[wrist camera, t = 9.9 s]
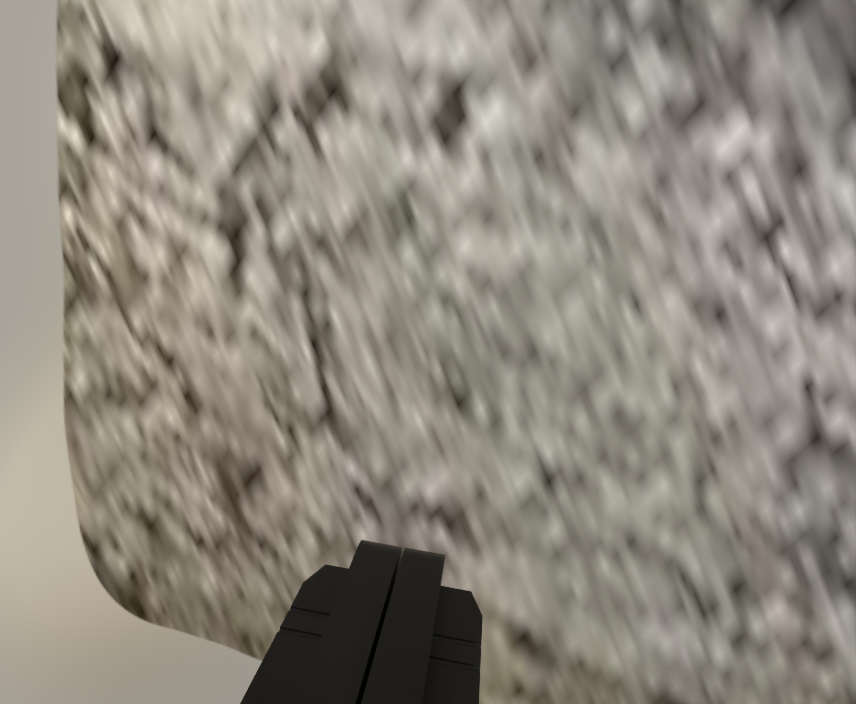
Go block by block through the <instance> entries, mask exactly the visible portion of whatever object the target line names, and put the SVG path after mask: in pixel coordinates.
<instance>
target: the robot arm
mask: <svg viewBox="0 0 856 704" xmlns="http://www.w3.org/2000/svg"><path fill="white" fill-rule="evenodd" d="M401 558H402V559H401ZM444 560H445V555H443V554H437V553H432V552H426V551H421V550H415V549H409V548H405V549H404V552H403V555H402V547H397V546H392V545H386V544H381V543H375V542H370V541H364V540H361V542H360V543H359V546H358V548H357V550H356V553H355V555H354V558H353V560H352V562H351V565H350V567H349V569H347V568H341V567H336V566H331V565H324V566H323V567H322V568H321V569H320V570H318V571H317V572H316V573H315V574H313V575H312V576H311V577H310V578H308V579H307V580H306V581H305V582H303V584H302V586H301V588H300V590H299V592H298V594H297V596H296V598H295V600H294V602H293V604H292V605H291V609H290V611H288V613H287V615H286V617H285V619H284V621H283V623H282V625H281V627H280V631H279V632H277V634H276V636H275V638H274V640H273V642H272V644H271V646H270V648H269V650H268V651H267V653H266V655H265V657H264V659H263V661H262V663H261V665H260V667H259V669H258V671H257V673H256V675H255V676H254V678H253V680H252V682H251V684H250V686H249V688H248V690H247V692H246V694H245V696H244V697H243V699H242V701H241V703H240V704H479V684H480V661H481V638H482V614H481V612H480V610H479V608H478V605H477V603H476V601H475V599H474V597H473V595H472V592H471V591H466V590H460V589H455V588H450V587H444V586H441V581H442V574H443V567H444Z"/></svg>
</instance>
